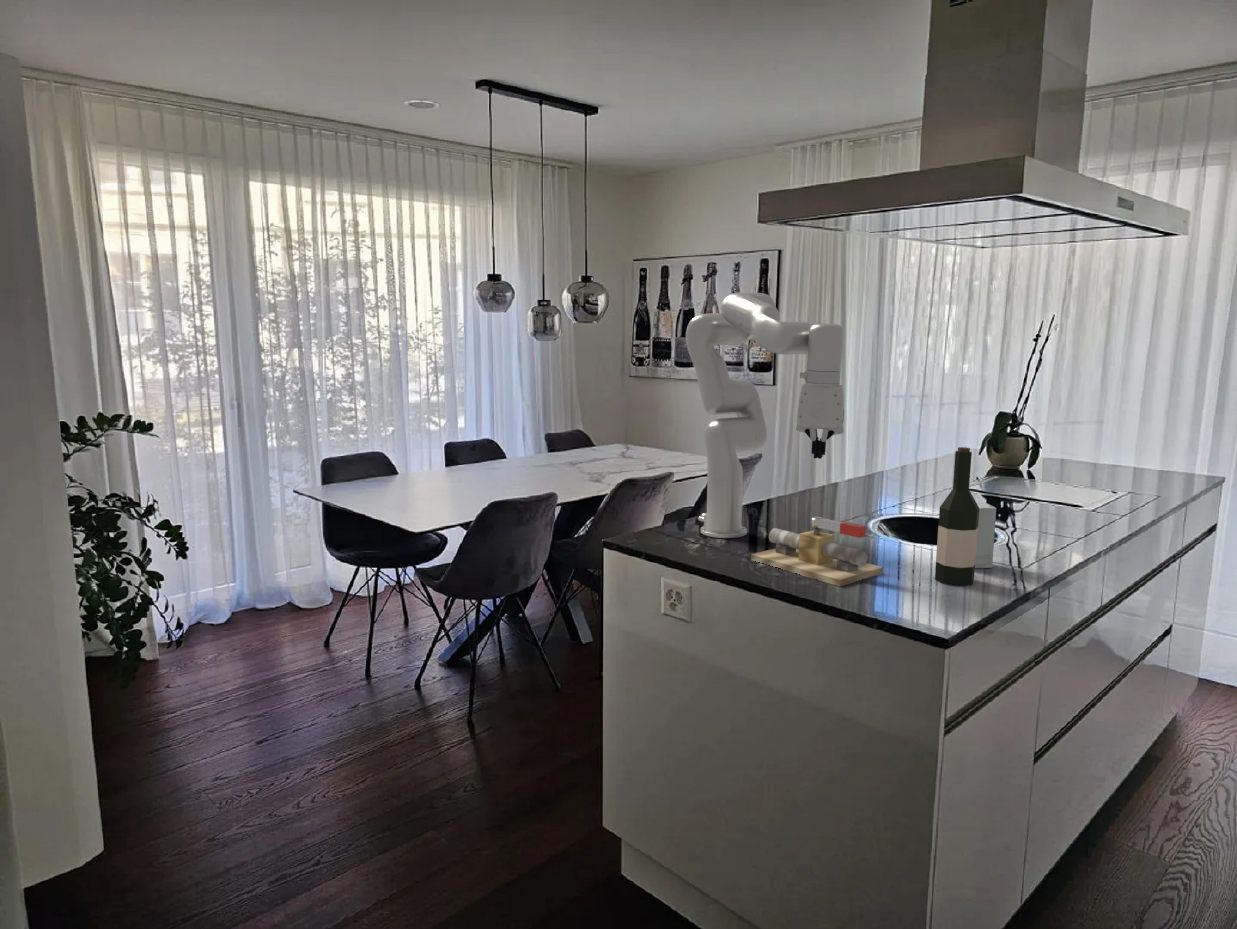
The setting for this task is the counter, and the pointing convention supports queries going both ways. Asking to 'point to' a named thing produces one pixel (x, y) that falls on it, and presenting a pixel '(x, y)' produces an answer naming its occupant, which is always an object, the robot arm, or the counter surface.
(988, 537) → the skincare box
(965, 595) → the counter surface
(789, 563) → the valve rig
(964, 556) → the wine bottle
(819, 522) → the valve lever
